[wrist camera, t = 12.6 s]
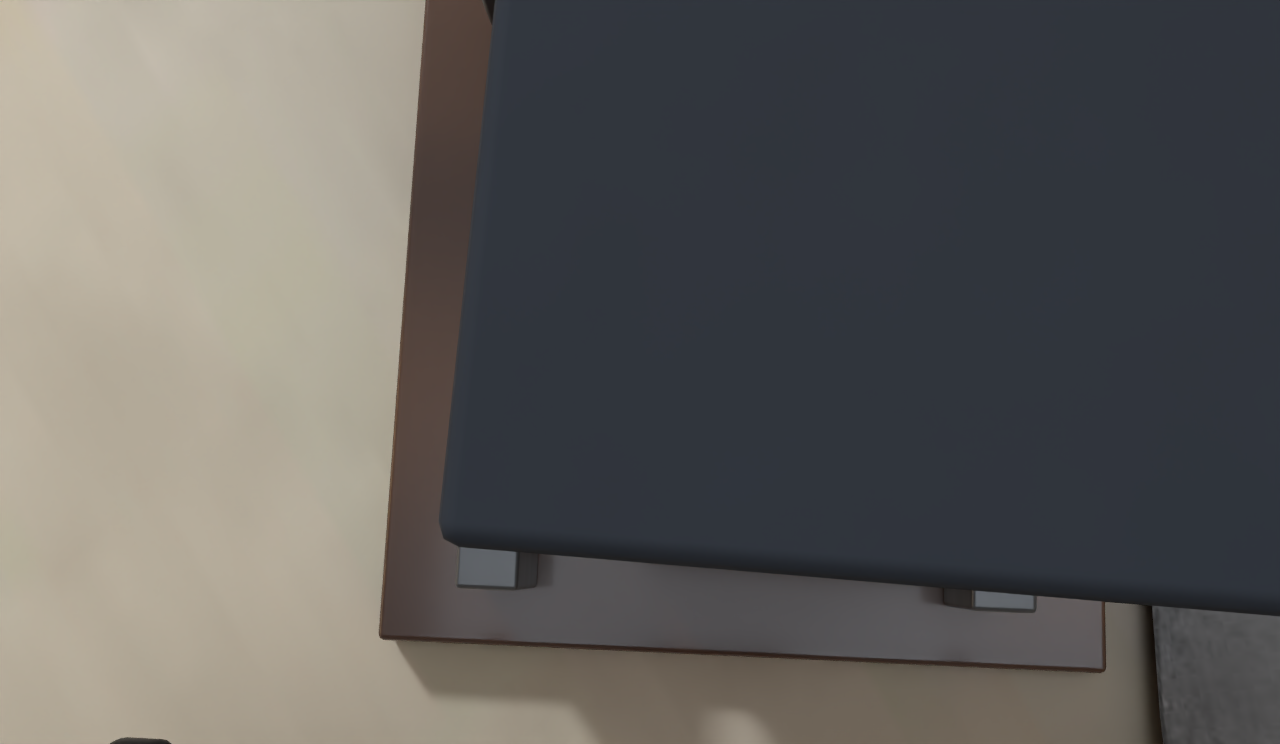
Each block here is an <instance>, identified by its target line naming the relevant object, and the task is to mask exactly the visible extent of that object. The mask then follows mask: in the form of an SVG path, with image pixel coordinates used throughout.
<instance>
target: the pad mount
mask: <svg viewBox="0 0 1280 744" xmlns="http://www.w3.org/2000/svg"><path fill="white" fill-rule="evenodd" d="M494 4H495V0H426V3H425V16H424V30H423V43H422V57H421V70H420V84H419V97H418V111H417V124H416V138H415V151H414V165H413V178H412V192H411V205H410V219H409V233H408V246H407V260H406V273H405V287H404V300H403V314H402V327H401V341H400V354H399V368H398V381H397V395H396V408H395V422H394V435H393V449H392V462H391V476H390V489H389V503H388V516H387V530H386V543H385V557H384V570H383V584H382V598H381V611H380V625H379V636H380V638H381V639H383V640H400V641H422V642H443V643H465V644H486V645H508V646H529V647H551V648H572V649H594V650H615V651H637V652H658V653H680V654H701V655H723V656H744V657H766V658H787V659H809V660H830V661H852V662H873V663H895V664H916V665H938V666H959V667H981V668H1002V669H1024V670H1045V671H1067V672H1088V673H1102V672H1105V669H1106V634H1105V602H1103V601H1091V600H1079V599H1068V598H1056V597H1044V596H1032V595H1020V594H1008V593H997V592H985V591H973V590H961V589H949V588H937V587H926V586H914V585H902V584H890V583H878V582H866V581H855V580H843V579H831V578H819V577H807V576H795V575H784V574H772V573H760V572H748V571H736V570H725V569H713V568H701V567H689V566H677V565H665V564H654V563H642V562H630V561H618V560H606V559H594V558H583V557H571V556H559V555H547V554H535V553H523V552H512V551H500V550H488V549H476V548H464V547H458V546H456V545H454V544H452V543H451V542H449V541H447V540H445V539H443V536H442V532H441V529H440V525H439V522H438V521H439V511H440V502H441V493H442V484H443V474H444V465H445V456H446V447H447V438H448V428H449V419H450V410H451V401H452V391H453V382H454V373H455V364H456V355H457V345H458V336H459V327H460V318H461V308H462V299H463V290H464V281H465V271H466V262H467V253H468V244H469V235H470V225H471V216H472V207H473V198H474V188H475V179H476V170H477V161H478V152H479V142H480V133H481V124H482V115H483V105H484V96H485V87H486V78H487V69H488V59H489V50H490V41H491V32H492V22H493V13H494Z"/></svg>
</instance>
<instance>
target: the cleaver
mask: <svg viewBox="0 0 1280 744" xmlns="http://www.w3.org/2000/svg"><path fill="white" fill-rule="evenodd" d="M1152 612H1153V626H1154V639H1155V653H1156V667H1157V681H1158V695H1159V709H1160V720H1161V728H1162V737H1163V744H1280V616H1269V615H1257V614H1245V613H1233V612H1221V611H1209V610H1198V609H1186V608H1174V607H1162V606H1152Z"/></svg>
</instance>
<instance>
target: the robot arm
mask: <svg viewBox="0 0 1280 744" xmlns="http://www.w3.org/2000/svg"><path fill="white" fill-rule="evenodd" d="M110 744H171V743H170V742H169V741H167V740H163V739H147V738H128V737H127V738H121V739H118V740H115V741H113V742H112V743H110Z"/></svg>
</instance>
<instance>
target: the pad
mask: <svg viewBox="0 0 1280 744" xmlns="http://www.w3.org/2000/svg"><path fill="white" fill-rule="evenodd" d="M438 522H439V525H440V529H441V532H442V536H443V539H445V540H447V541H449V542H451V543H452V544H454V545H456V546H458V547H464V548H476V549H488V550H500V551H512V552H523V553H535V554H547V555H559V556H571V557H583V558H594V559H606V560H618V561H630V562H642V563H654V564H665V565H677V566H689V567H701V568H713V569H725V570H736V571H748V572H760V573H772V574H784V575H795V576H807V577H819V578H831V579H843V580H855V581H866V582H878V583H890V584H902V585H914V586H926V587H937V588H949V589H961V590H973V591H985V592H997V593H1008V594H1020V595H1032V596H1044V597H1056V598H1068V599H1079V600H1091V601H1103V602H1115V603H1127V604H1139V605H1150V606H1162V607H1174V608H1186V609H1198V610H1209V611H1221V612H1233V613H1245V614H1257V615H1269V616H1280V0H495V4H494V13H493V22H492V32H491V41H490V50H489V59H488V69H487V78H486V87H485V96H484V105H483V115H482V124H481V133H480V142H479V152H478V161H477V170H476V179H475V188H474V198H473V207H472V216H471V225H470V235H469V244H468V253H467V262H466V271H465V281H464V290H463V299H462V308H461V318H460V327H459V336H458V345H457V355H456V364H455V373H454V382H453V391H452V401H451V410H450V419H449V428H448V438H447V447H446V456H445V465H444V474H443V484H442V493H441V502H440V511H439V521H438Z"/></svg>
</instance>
